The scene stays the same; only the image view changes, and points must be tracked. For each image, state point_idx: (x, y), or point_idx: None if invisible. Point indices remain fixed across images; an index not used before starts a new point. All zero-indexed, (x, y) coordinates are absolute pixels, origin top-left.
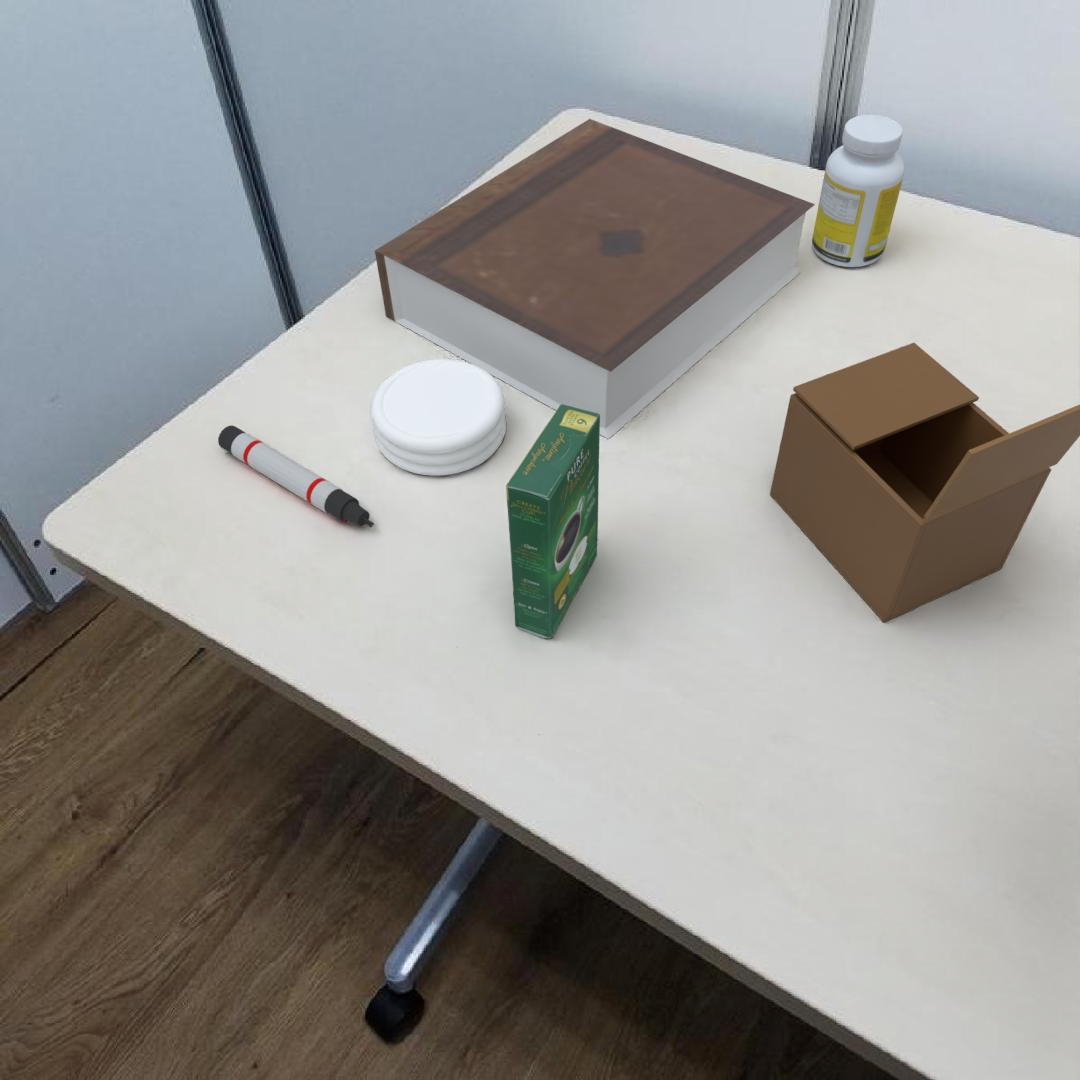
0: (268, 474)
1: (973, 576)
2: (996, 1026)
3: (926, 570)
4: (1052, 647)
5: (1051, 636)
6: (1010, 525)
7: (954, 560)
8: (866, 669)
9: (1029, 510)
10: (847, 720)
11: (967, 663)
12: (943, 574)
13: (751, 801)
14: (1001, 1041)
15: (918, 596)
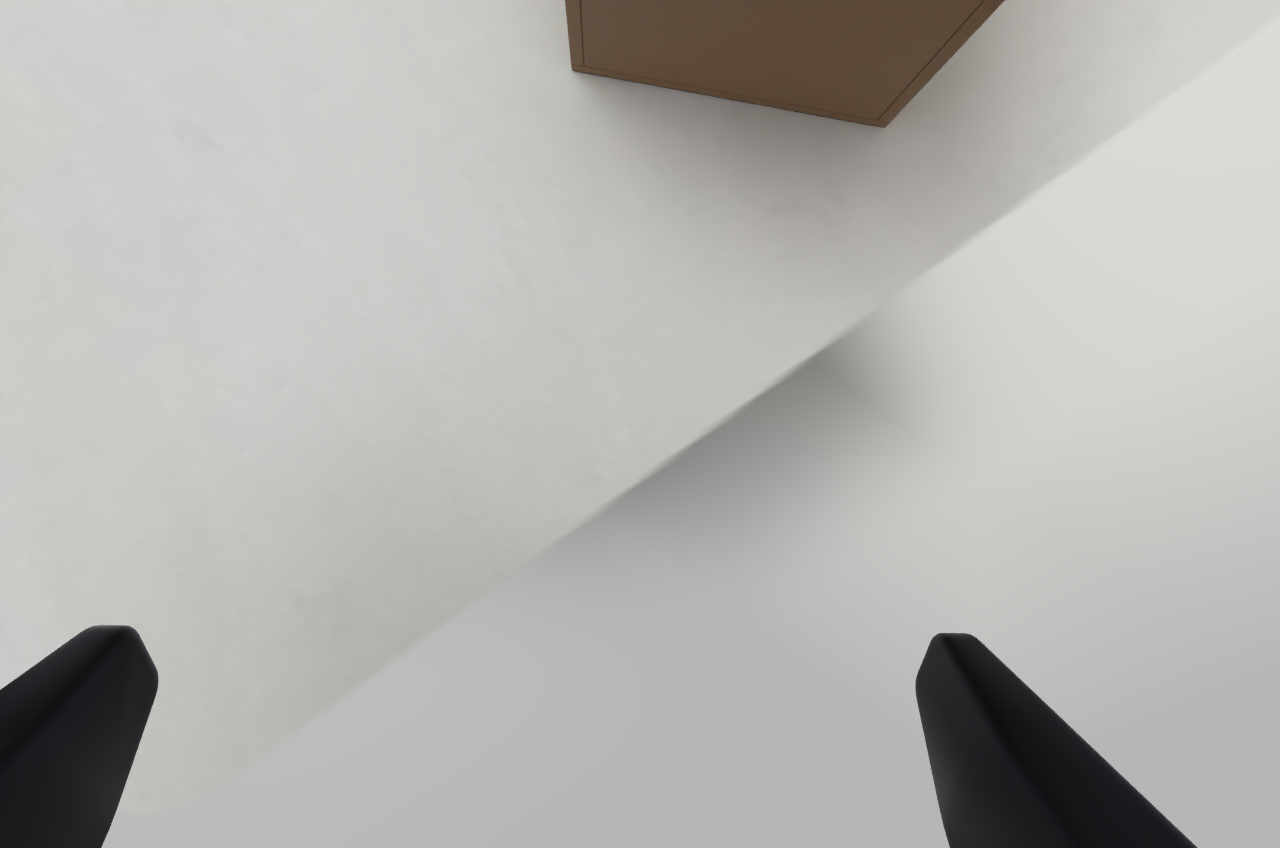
0: None
1: (805, 102)
2: None
3: (645, 8)
4: (800, 319)
5: (821, 301)
6: (906, 37)
7: (734, 32)
8: (455, 128)
9: (969, 29)
10: (333, 187)
11: (631, 242)
12: (709, 49)
13: (50, 200)
14: None
15: (650, 63)
